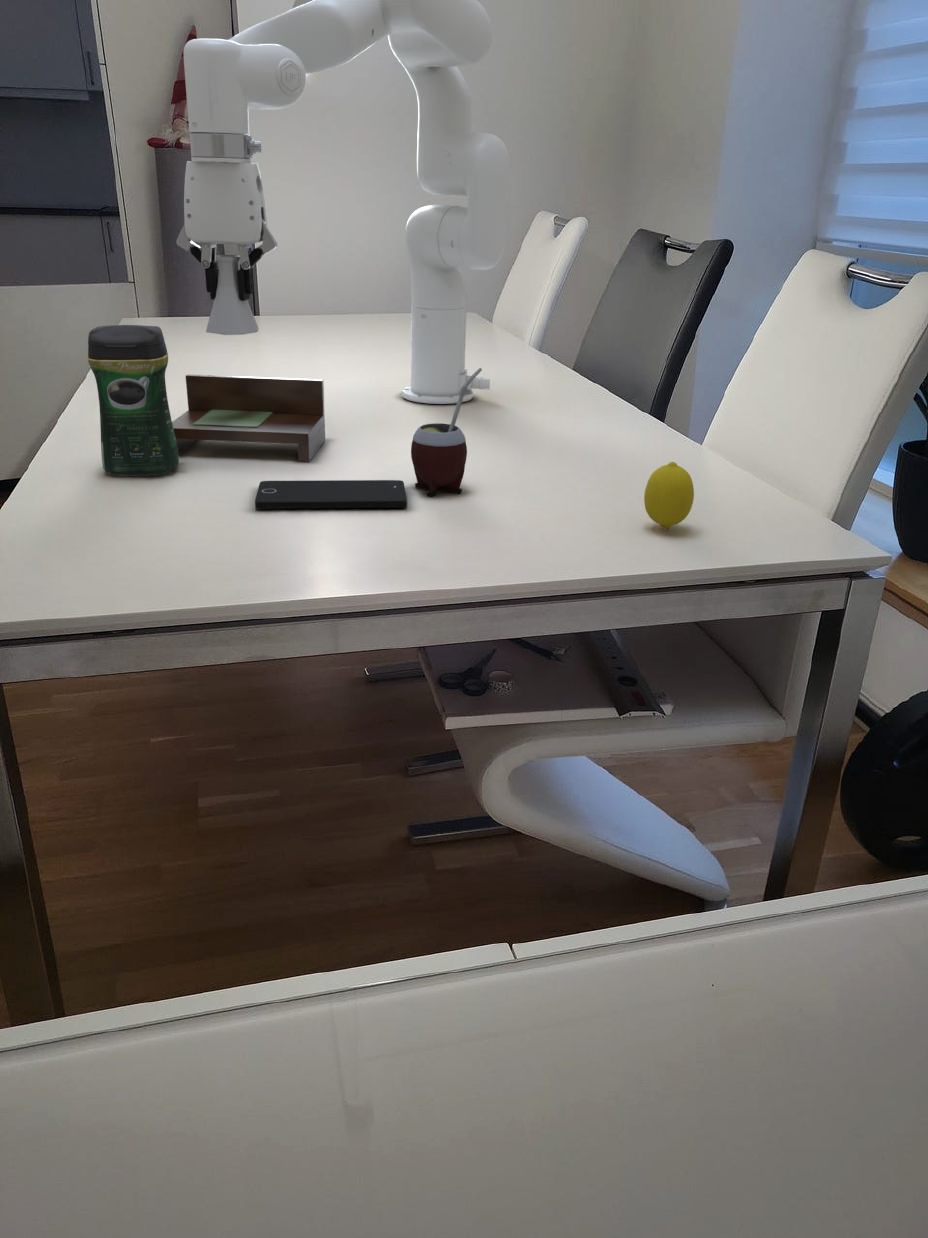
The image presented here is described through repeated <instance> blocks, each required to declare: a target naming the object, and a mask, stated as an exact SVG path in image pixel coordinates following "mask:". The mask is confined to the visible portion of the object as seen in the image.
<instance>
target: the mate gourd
mask: <svg viewBox="0 0 928 1238" xmlns="http://www.w3.org/2000/svg"><path fill="white" fill-rule="evenodd" d="M482 371H483V369H482V367H479V368H478V369H477V370H476V371H474V372H473V373H472V374H471V375H469V376H470V377H469V378H468V380H467V381H466V382H465V383H464V385H463V387H461V389H460V392H459V394H460V395H459V398H458V402H457V403H456V405H455V409H454V410H453V411H454V412H453V415H452V418H451V421H450V423H443V422H441V423H439V422H438V423H437V422H436V423H435V422H434V423H425V424H422V425H420V426H418V428H416V431H415V432H414V434H413V436H412V440H411V445H410V458H411V462H412V465H413V471H414V474H415V478H416V483H414V487H415V489H421V490H428V491H427V492H426V497H429V498H432V497H435V495H437V494H438V493H440V492H444V493H451V494H459V495H460V494H462V491H463V488H461V485H462V482H463V478H464V475H465V470H466V462H467V456H468V447H467V442H466V441H467V440H466V436H465V434H464V433H463V431H462V429H461V428H460V427H459V426H458V425H456V423H457V419H458V416H459V413H460V410H461V407H462V404H463V402H462V400H463V397H464V396H465V394H466V392H467V387H468V386H469V384H470V383H471V381H472V380H473V379H474V378H477V377H478V375H479V374H480V373H481V372H482Z"/></svg>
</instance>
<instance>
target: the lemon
mask: <svg viewBox="0 0 928 1238" xmlns="http://www.w3.org/2000/svg"><path fill="white" fill-rule="evenodd" d="M693 482H694V481H693V479H692V477H691V475H690V474H689V472H688V471H687V470H686V469H685V468H684V467H682V466H680V465H678V463H677V462H675V461H669V462H668V463H667V464H665V465H662V466H660V467H658V468H656V469H655V470H654V471H652V473H651V474H650V476H649V478H648V480H647V483H646V485H645V490H644V498H643V503H644V509H645V511H646V513H647V515H648V518H650V519H651V520H652V521H653V522H654V523H656V524H657V525H659V526H660V528H661V529H662V530H669V529H670V528H672V526H675V525H678V524H680V523H682V522H683V521H684V520H685V519H686V518H687V517H688V516H689V514H690V512H691V510H692V507H693V504H694V499H695V490H694V489H695V488H694V483H693Z"/></svg>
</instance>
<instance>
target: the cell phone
mask: <svg viewBox="0 0 928 1238" xmlns="http://www.w3.org/2000/svg"><path fill="white" fill-rule="evenodd" d="M407 505H408V499H407V493H406V488H405V482H404V481H403V480H401V479H361V480H360V479H358V480H357V479H356V480H355V479H354V480H353V479H346V480H344V479H342V480H339V479H337V480H335V479H334V480H333V479H332V480H330V479H329V480H326V479H325V480H323V479H322V480H321V479H320V480H319V479H318V480H317V479H316V480H261V481H260V482H259V484H258V488H257V491H256V496H255V498H254V507H255V509H258V510H259V509H260V510H261V509H262V510H263V509H369V508H371V509H373V508H377V509H378V508H381V509H383V508H386V509H387V508H390V509H391V508H397V509H398V508H399V509H400V508H401V509H404V508H406V507H407Z"/></svg>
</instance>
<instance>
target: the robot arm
mask: <svg viewBox="0 0 928 1238" xmlns="http://www.w3.org/2000/svg"><path fill="white" fill-rule="evenodd" d="M384 38H388V43H389V46H390V49H391V51H392V53H393V55H394V56H395V57H396V59H397V61H398V62H399V64H401V66H402V67H403V68H404V70H405V72H406V73H407V75H408V77H409V78H410V81H411V83H412V84H413V87H414V91H415V93H416V98H417V142H416V143H417V146H416V147H417V148H416V176H417V177H416V178H417V181H418V184H419V186H420V188H421V189H422V190H423V191H424V192H426V193H428V194H429V195H433V196H439V197H452V198H467V206H460V205H447V204H430V205H425V206H422V207H419V208H418V209H416V210H415V211H414V212H412V214H410V216H409V218H408V220H407V222H406V225H405V230H404V240H405V248H406V253H407V258H408V259H407V260H408V265H409V272H410V295H411V296H410V385H408V386H406V387H403V388H402V390H401V396H402V398H403V399H405V400H407V401H411V402H414V403H420V404H429V405H430V404H431V405H451V404H452V405H453V404H457V402H458V398H459V395H460V394H459V392H460V389H461V387H463V385H464V383H465V382H466V381H467V380H468V378H469V377H470V376H471V375H468V369H466V340H467V339H466V336H467V308H468V307H467V305H468V304H467V301H468V298H467V296H468V295H467V289H466V285H465V281H464V279H463V277H462V275H461V273H460V270H459V269H461V270H462V269H463V270H472V271H473V270H475V271H487V270H491V269H493V268H495V267H496V266H497V265H499V263H500V262H501V261H502V258H503V256H504V253H505V250H506V245H507V240H508V230H509V217H510V216H509V214H510V200H511V186H512V164H511V158H510V153H509V150H508V149H507V146H506V144H505V143H504V141H503V140H502V138H500V137H499V136H497V135H495V134H493V133H490V132H476V131H475V132H474V131H473V132H472V97H471V92H470V89H469V86H468V84H467V82H466V79H465V78H464V76H463V74H462V72H461V70H460V69H459V68H458V67H469V66H474V65H476V64H478V63H480V62H482V60H484V58H485V57H486V56H487V55H488V53H489V51H490V48H491V46H492V45H491V44H492V38H493V28H492V23H491V20H490V17H489V15H488V13H487V11H486V9H485V7H484V6H483V5H482V3H480V1H478V0H311V1H309V2H306V3H303V4H301V5H298V6H296V7H293V8H291V9H290V10H287V11H285V12H283V13H281V14H278V15H276V16H273V17H271V18H268V19H266V20H263V21H261V22H258V23H256V24H254V25H252V26H250V27H248V28H246V29H244V30H242V31H240V32H238V33H237V34H235V35H233V36H232V37H230V38H228V39H224V38H223V39H222V38H194V39H193V38H192V39H191V40H188V41H187V42H186V43H185V45H184V47H183V66H184V67H183V69H184V80H185V81H184V82H185V94H186V107H187V120H188V131H189V147H190V156H191V159H190V160H187V161H186V164H185V172H184V188H183V189H184V191H183V192H184V193H183V211H184V212H183V219H184V223H183V225H182V227H181V229H180V232H179V234H178V236H177V238H176V241H175V242H176V246H178V247H180V248H181V249H183V250H184V251H186V252H187V253H190V254H191V255H192V256H193V258H195V259H196V260H197V262H199V263H200V265H201V267H202V268H204V274H205V288H206V292H207V293H209V296H210V300H211V301H212V300H213V301H214V299H215V298H216V290H217V285H218V275H219V268H218V262H217V261H216V256H217V247H218V246H217V245H237V251H238V255H239V257H240V260H239V262H240V264H239V268H238V287H239V299H240V300H241V301H246V300H247V301H248V300H249V299H250V298H251V295H252V294H253V293H254V280H253V279H254V278H253V268H254V267H255V265H256V264H257V263H259V261H260V260H261V259H262V258H263V257H264V256H265V255H267V254H268V253H270V252H272V251H273V250H275V249H277V248H278V242H277V241H276V238H275V236H274V235H273V234H272V232H271V230H270V228H269V227H268V226H269V225H268V219H267V210H266V201H265V193H264V187H263V182H262V177H261V171H260V168H259V167H260V166H259V163H258V162H252V158H253V156H254V154H256V153H258V154H259V153H260V154H261V153H262V151H263V150H262V149H263V147H262V143H261V141H258V140H257V141H256V140H255V139H253V138H252V136H251V135H250V119H249V118H250V117H249V110H259V111H262V110H263V111H266V110H268V111H269V110H270V111H271V110H272V111H273V110H275V111H276V110H277V111H278V110H283V109H287V108H290V107H292V106H294V105H295V104H296V103H298V101H300V99H301V98H302V97H303V95H304V94H305V93H304V92H305V90H306V88H307V87H306V86H307V74H315V73H321V72H325V71H328V70H329V71H330V70H332V69H335V68H338V67H342V66H343V65H346V64H347V63H349V62H351V61H352V60H353V59H355V58H356V57H358V56H359V55H361V54H362V53H364V52H365V51H367V50H368V49H369V48H370V47H372V46H374V45H375V44H377V43H379V42H380V41H381V40H382V39H384ZM260 242H262V244H260V245H258V246H257V247H255V248H254V249H253V245H254V244H257V243H260ZM198 243H199V244H201V245H199V244H198ZM250 300H251V299H250ZM490 386H491V378H484V377H483V376H481V377H478V376H476V377H475V378H474V379H473V380H472V381H471V383H470V384H469V386H468V387H467V392H466V394H465V396H464V397H463V400H462V403H465V402H469V401H471V400H472V399H473V398H474V397H473V396H474V391H473V390H479V391H480V390H484V391H489V390H491V389H490V388H491V387H490ZM472 389H473V390H472Z"/></svg>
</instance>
